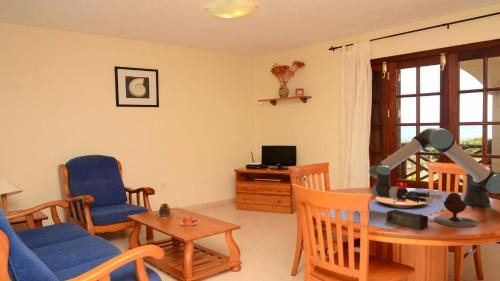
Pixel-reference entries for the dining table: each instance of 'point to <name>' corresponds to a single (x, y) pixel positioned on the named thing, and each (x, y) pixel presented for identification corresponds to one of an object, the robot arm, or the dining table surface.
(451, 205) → the ice cream bowl
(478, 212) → the dining table surface
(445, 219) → the disc
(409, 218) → the dark grey rectangular block
